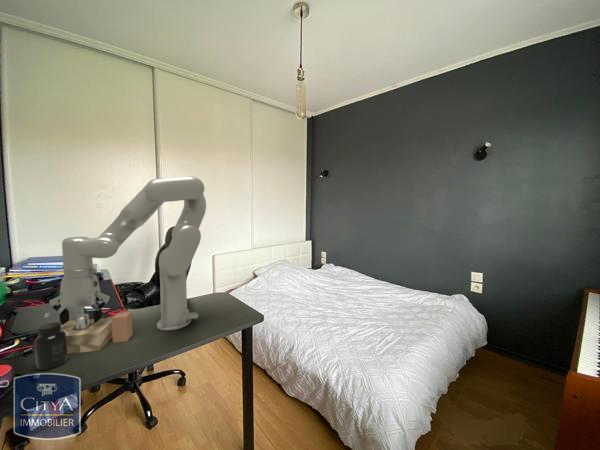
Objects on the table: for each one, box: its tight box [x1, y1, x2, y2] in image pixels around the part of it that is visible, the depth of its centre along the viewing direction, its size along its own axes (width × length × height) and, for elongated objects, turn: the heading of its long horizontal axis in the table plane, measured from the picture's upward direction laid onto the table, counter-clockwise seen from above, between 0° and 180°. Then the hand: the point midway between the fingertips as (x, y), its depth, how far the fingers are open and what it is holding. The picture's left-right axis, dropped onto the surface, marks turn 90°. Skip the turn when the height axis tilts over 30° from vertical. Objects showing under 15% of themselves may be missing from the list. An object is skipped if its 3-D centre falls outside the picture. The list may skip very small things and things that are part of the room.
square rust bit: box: [111, 311, 134, 344], centre depth 91 cm, size 4×4×9 cm
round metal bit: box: [74, 313, 90, 330], centre depth 87 cm, size 4×4×10 cm
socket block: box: [61, 317, 113, 355], centre depth 88 cm, size 16×12×6 cm
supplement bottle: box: [33, 321, 69, 371], centre depth 76 cm, size 7×7×12 cm
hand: (81, 321), depth 87 cm, fingers open, 9 cm apart
